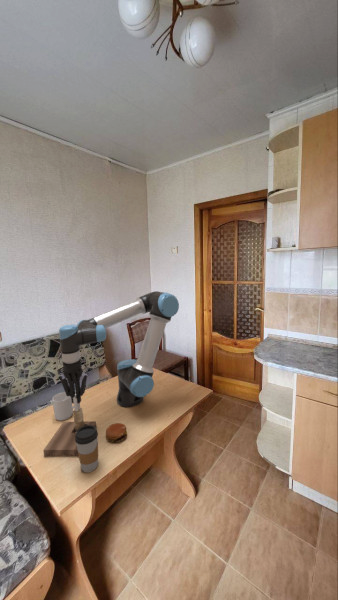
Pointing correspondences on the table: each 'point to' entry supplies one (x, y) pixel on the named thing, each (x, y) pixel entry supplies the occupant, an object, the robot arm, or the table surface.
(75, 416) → the peg
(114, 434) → the burger
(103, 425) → the table surface
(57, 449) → the board
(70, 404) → the mug
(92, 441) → the coffee cup
